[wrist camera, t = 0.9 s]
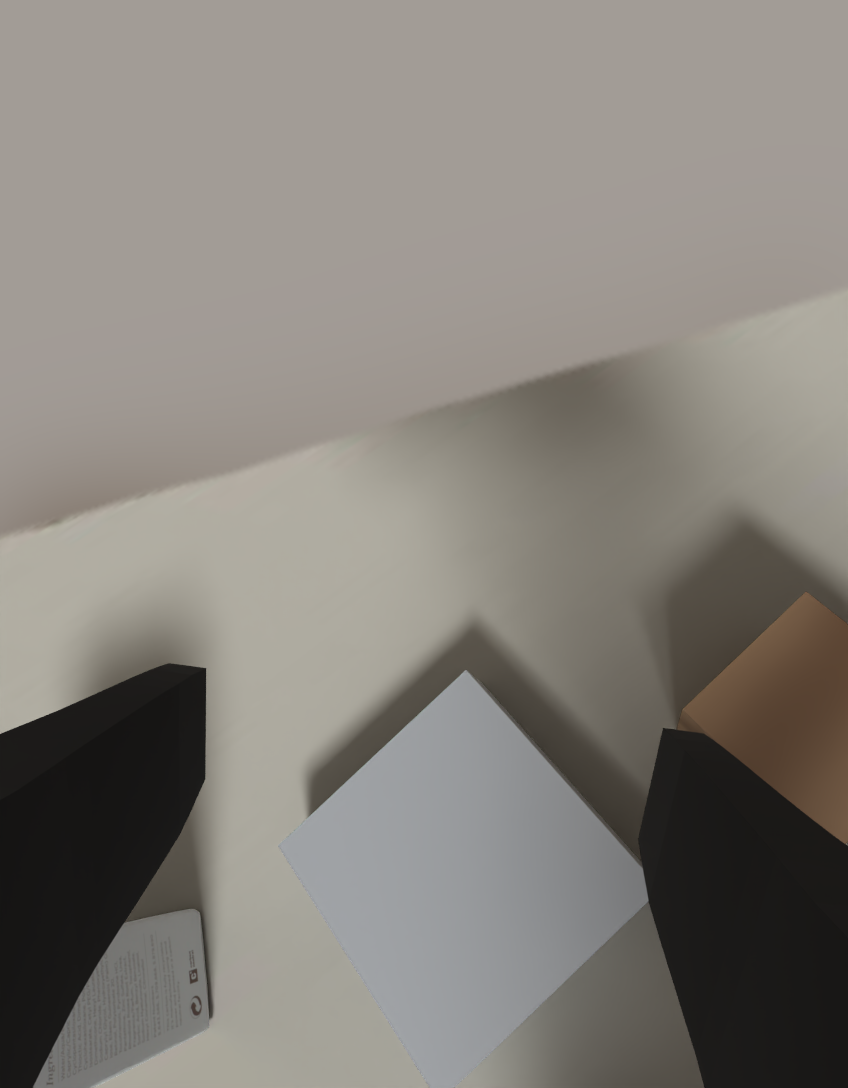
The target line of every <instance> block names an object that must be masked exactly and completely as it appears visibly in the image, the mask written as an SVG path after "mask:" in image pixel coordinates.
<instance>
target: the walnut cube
mask: <svg viewBox="0 0 848 1088" xmlns="http://www.w3.org/2000/svg"><path fill="white" fill-rule="evenodd" d="M677 730H682V731H690V732H697V733H704V734H705V735H707V736H708V737H710V738H711V739H713V740H714V741H716V742H717V743H718V744H720V745H721V746H722V747H724V748H725V749H726V750H727V751H729V752H730V753H731V754H732V755H734V756H735V757H736V758H737V759H739V760H740V761H741V762H742V763H743V764H745V765H746V766H747V767H748V768H750V769H751V770H752V771H753V772H754V773H756V774H757V775H758V776H759V777H760V778H762V779H763V780H764V781H765V782H767V783H768V784H769V785H770V786H771V787H773V788H774V789H775V790H776V791H778V792H779V793H780V794H781V795H782V796H784V797H785V798H786V799H787V800H789V801H790V802H791V803H792V804H794V805H795V806H796V807H797V808H799V809H800V810H801V811H802V812H804V813H805V814H806V815H808V816H809V817H810V818H811V819H813V820H814V821H815V822H817V823H818V824H819V825H820V826H822V827H823V828H824V829H826V830H827V831H828V832H830V833H831V834H832V835H833V836H835V837H836V838H838V839H839V840H840V841H842V842H843V843H844V844H846V843H847V842H848V624H847V623H846V622H844V621H843V620H842V619H841V618H839V617H838V616H837V615H835V614H834V613H833V612H832V611H830V610H829V609H828V608H827V607H825V606H824V605H823V604H821V603H820V602H819V601H818V600H816V599H815V598H814V597H812V596H811V595H810V594H809V593H807V592H805V593H804V594H803V595H802V596H801V597H800V598H799V599H798V600H797V601H796V602H794V603H793V604H792V605H791V606H790V607H789V608H788V609H787V610H786V611H785V612H784V613H783V614H782V615H781V616H780V617H779V618H778V619H777V620H776V621H775V622H773V623H772V624H771V625H770V626H769V627H768V628H767V629H766V630H765V631H764V632H763V633H762V634H761V635H760V636H759V637H758V638H757V639H756V640H755V641H754V642H752V643H751V644H750V645H749V646H748V647H747V648H746V649H745V650H744V651H743V652H742V653H741V654H740V655H739V656H738V657H737V658H736V659H735V660H734V661H733V662H731V663H730V664H729V665H728V666H727V667H726V668H725V669H724V670H723V671H722V672H721V673H720V674H719V675H718V676H717V677H716V678H715V679H714V680H713V681H712V682H711V683H709V684H708V685H707V686H706V687H705V688H704V689H703V690H702V691H701V692H700V693H699V694H698V695H697V696H696V697H695V698H694V699H693V700H692V701H691V702H690V703H688V704H687V705H686V706H685V707H684V708H683V709H682V712H681V716H680V719H679V723H678V726H677Z"/></svg>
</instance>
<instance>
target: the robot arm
mask: <svg viewBox="0 0 848 1088" xmlns="http://www.w3.org/2000/svg"><path fill="white" fill-rule="evenodd" d="M205 742H206V668H200V667H192V666H185V665H177V664H166V665H163V666H160V667H157V668H154V669H152V670H149V671H147V672H144V673H142V674H139V675H137V676H135V677H133V678H130V679H128V680H126V681H124V682H121V683H119V684H117V685H115V686H112V687H110V688H108V689H106V690H103V691H101V692H99V693H97V694H95V695H92V696H90V697H88V698H86V699H83V700H81V701H79V702H77V703H74V704H72V705H70V706H68V707H65V708H63V709H61V710H58V711H56V712H54V713H51V714H49V715H46V716H44V717H41V718H39V719H36V720H34V721H31V722H29V723H26V724H24V725H21V726H19V727H16V728H14V729H12V730H9V731H7V732H4V733H2V734H0V1088H33V1086H34V1084H35V1082H36V1080H37V1078H38V1076H39V1074H40V1072H41V1070H42V1068H43V1066H44V1064H45V1062H46V1060H47V1058H48V1056H49V1054H50V1052H51V1050H52V1048H53V1046H54V1044H55V1042H56V1040H57V1039H58V1037H59V1035H60V1033H61V1031H62V1029H63V1027H64V1025H65V1023H66V1021H67V1019H68V1017H69V1015H70V1013H71V1011H72V1009H73V1007H74V1005H75V1003H76V1001H77V999H78V997H79V996H80V994H81V992H82V990H83V989H84V987H85V985H86V983H87V982H88V980H89V978H90V977H91V975H92V973H93V971H94V970H95V968H96V966H97V965H98V963H99V961H100V960H101V958H102V957H103V955H104V954H105V952H106V950H107V949H108V947H109V946H110V944H111V943H112V941H113V939H114V938H115V936H116V935H117V933H118V932H119V930H120V928H121V927H122V925H123V924H124V922H125V921H126V919H127V917H128V916H129V914H130V913H131V911H132V910H133V908H134V906H135V905H136V903H137V902H138V900H139V899H140V897H141V895H142V894H143V892H144V891H145V889H146V888H147V886H148V884H149V883H150V881H151V880H152V878H153V877H154V875H155V873H156V872H157V870H158V869H159V867H160V865H161V864H162V862H163V861H164V859H165V857H166V856H167V854H168V853H169V851H170V849H171V848H172V846H173V845H174V843H175V841H176V840H177V838H178V836H179V835H180V833H181V831H182V829H183V826H184V824H185V822H186V820H187V818H188V816H189V814H190V812H191V810H192V807H193V805H194V803H195V801H196V798H197V796H198V794H199V792H200V789H201V787H202V785H203V783H204V780H205ZM638 840H639V847H640V853H641V860H642V866H643V873H644V878H645V884H646V889H647V895H648V900H649V904H650V907H651V911H652V914H653V918H654V921H655V924H656V928H657V931H658V934H659V938H660V941H661V944H662V948H663V951H664V954H665V957H666V961H667V964H668V967H669V970H670V973H671V977H672V980H673V983H674V986H675V990H676V993H677V996H678V999H679V1002H680V1006H681V1009H682V1012H683V1015H684V1018H685V1022H686V1025H687V1028H688V1031H689V1035H690V1038H691V1041H692V1044H693V1047H694V1051H695V1054H696V1057H697V1061H698V1065H699V1068H700V1072H701V1076H702V1080H703V1083H704V1087H705V1088H848V846H847V845H846V844H844V843H843V842H842V841H840V840H839V839H838V838H836V837H835V836H833V835H832V834H831V833H830V832H828V831H827V830H826V829H824V828H823V827H822V826H820V825H819V824H818V823H817V822H815V821H814V820H813V819H811V818H810V817H809V816H808V815H806V814H805V813H804V812H802V811H801V810H800V809H799V808H797V807H796V806H795V805H794V804H792V803H791V802H790V801H789V800H787V799H786V798H785V797H784V796H782V795H781V794H780V793H779V792H778V791H776V790H775V789H774V788H773V787H771V786H770V785H769V784H768V783H767V782H765V781H764V780H763V779H762V778H760V777H759V776H758V775H757V774H756V773H754V772H753V771H752V770H751V769H750V768H748V767H747V766H746V765H745V764H743V763H742V762H741V761H740V760H739V759H737V758H736V757H735V756H734V755H732V754H731V753H730V752H729V751H727V750H726V749H725V748H724V747H722V746H721V745H720V744H718V743H717V742H716V741H714V740H713V739H711V738H710V737H708V736H707V735H705V734H704V733H697V732H690V731H682V730H674V729H667V728H663V731H662V736H661V740H660V745H659V749H658V754H657V758H656V763H655V767H654V771H653V776H652V780H651V785H650V789H649V794H648V798H647V803H646V807H645V811H644V816H643V820H642V825H641V829H640V834H639V838H638Z"/></svg>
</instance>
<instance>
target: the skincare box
mask: <svg viewBox="0 0 848 1088" xmlns="http://www.w3.org/2000/svg"><path fill="white" fill-rule="evenodd" d="M208 1028H209V1009H208V991H207V978H206V968H205V955H204V944H203V934H202V926H201V916H200V913H199V911H197V910H195V909H186V910H181V911H176V912H171V913H166V914H161V915H156V916H151V917H147V918H142V919H138V920H134V921H130V922H125V923H124V924H123V925H122V927H121V928H120V930H119V932H118V933H117V935H116V936H115V938H114V939H113V941H112V943H111V944H110V946H109V947H108V949H107V950H106V952H105V954H104V955H103V957H102V958H101V960H100V961H99V963H98V965H97V966H96V968H95V970H94V971H93V973H92V975H91V977H90V978H89V980H88V982H87V983H86V985H85V987H84V989H83V990H82V992H81V994H80V996H79V997H78V999H77V1001H76V1003H75V1005H74V1007H73V1009H72V1011H71V1013H70V1015H69V1017H68V1019H67V1021H66V1023H65V1025H64V1027H63V1029H62V1031H61V1033H60V1035H59V1037H58V1039H57V1040H56V1042H55V1044H54V1046H53V1048H52V1050H51V1052H50V1054H49V1056H48V1058H47V1060H46V1062H45V1064H44V1066H43V1068H42V1070H41V1072H40V1074H39V1076H38V1078H37V1080H36V1082H35V1084H34V1086H33V1088H94V1087H96V1086H98V1085H100V1084H102V1083H104V1082H106V1081H108V1080H110V1079H112V1078H114V1077H116V1076H118V1075H120V1074H122V1073H124V1072H126V1071H128V1070H130V1069H132V1068H134V1067H136V1066H138V1065H140V1064H142V1063H144V1062H146V1061H148V1060H150V1059H152V1058H154V1057H156V1056H158V1055H160V1054H162V1053H164V1052H166V1051H168V1050H170V1049H172V1048H174V1047H176V1046H178V1045H180V1044H182V1043H184V1042H186V1041H188V1040H190V1039H192V1038H194V1037H196V1036H198V1035H200V1034H201V1033H203V1032H205V1031H206V1030H207V1029H208Z"/></svg>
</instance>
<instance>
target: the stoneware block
mask: <svg viewBox="0 0 848 1088" xmlns="http://www.w3.org/2000/svg"><path fill="white" fill-rule="evenodd" d="M278 847H279V848H280V850H281V851H282V853H283V855H284V856H285V858H286V859H287V861H288V862H289V864H290V866H291V867H292V869H293V870H294V872H295V874H296V875H297V877H298V878H299V880H300V882H301V883H302V885H303V886H304V888H305V890H306V891H307V893H308V894H309V896H310V898H311V899H312V901H313V902H314V904H315V906H316V907H317V909H318V910H319V912H320V914H321V915H322V917H323V918H324V920H325V922H326V923H327V925H328V926H329V928H330V929H331V931H332V933H333V934H334V936H335V937H336V939H337V941H338V942H339V944H340V945H341V947H342V949H343V950H344V952H345V953H346V955H347V957H348V958H349V960H350V961H351V963H352V965H353V966H354V968H355V969H356V971H357V973H358V974H359V976H360V977H361V979H362V981H363V982H364V984H365V985H366V987H367V989H368V990H369V992H370V993H371V995H372V996H373V998H374V1000H375V1001H376V1003H377V1004H378V1006H379V1008H380V1009H381V1011H382V1012H383V1014H384V1016H385V1017H386V1019H387V1020H388V1022H389V1024H390V1025H391V1027H392V1028H393V1030H394V1032H395V1033H396V1035H397V1036H398V1038H399V1040H400V1041H401V1043H402V1044H403V1046H404V1048H405V1049H406V1051H407V1052H408V1054H409V1055H410V1057H411V1059H412V1060H413V1062H414V1063H415V1065H416V1067H417V1068H418V1070H419V1071H420V1073H421V1075H422V1076H423V1078H424V1079H425V1081H426V1083H427V1084H428V1086H429V1087H430V1088H455V1087H456V1086H457V1085H458V1084H459V1083H460V1082H461V1081H462V1080H463V1079H464V1078H465V1077H466V1076H467V1075H468V1074H469V1073H470V1072H471V1071H472V1070H473V1069H474V1068H476V1067H477V1066H478V1065H479V1064H480V1063H481V1062H482V1061H483V1060H484V1059H485V1058H486V1057H487V1056H488V1055H489V1054H490V1053H491V1052H492V1051H493V1050H494V1049H495V1048H496V1047H497V1046H498V1045H499V1044H500V1043H502V1042H503V1041H504V1040H505V1039H506V1038H507V1037H508V1036H509V1035H510V1034H511V1033H512V1032H513V1031H514V1030H515V1029H516V1028H517V1027H518V1026H519V1025H520V1024H521V1023H522V1022H523V1021H524V1020H525V1019H527V1018H528V1017H529V1016H530V1015H531V1014H532V1013H533V1012H534V1011H535V1010H536V1009H537V1008H538V1007H539V1006H540V1005H541V1004H542V1003H543V1002H544V1001H545V1000H546V999H547V998H548V997H549V996H550V995H551V994H553V993H554V992H555V991H556V990H557V989H558V988H559V987H560V986H561V985H562V984H563V983H564V982H565V981H566V980H567V979H568V978H569V977H570V976H571V975H572V974H573V973H574V972H575V971H576V970H578V969H579V968H580V967H581V966H582V965H583V964H584V963H585V962H586V961H587V960H588V959H589V958H590V957H591V956H592V955H593V954H594V953H595V952H596V951H597V950H598V949H599V948H600V947H601V946H602V945H604V944H605V943H606V942H607V941H608V940H609V939H610V938H611V937H612V936H613V935H614V934H615V933H616V932H617V931H618V930H619V929H620V928H621V927H622V926H623V925H624V924H625V923H626V922H627V921H629V920H630V919H631V918H632V917H633V916H634V915H635V914H636V913H637V912H638V911H639V910H640V909H641V908H642V907H643V906H644V905H645V904H646V903H647V902H648V901H649V900H648V895H647V889H646V884H645V878H644V873H643V866H642V862H641V861H640V860H639V859H638V858H637V856H636V855H635V854H634V853H633V852H632V851H631V850H630V849H629V847H628V846H627V845H626V844H625V843H624V842H623V841H622V840H621V838H620V837H619V836H618V835H617V834H616V833H615V832H614V831H613V830H612V828H611V827H610V826H609V825H608V824H607V823H606V822H605V821H604V819H603V818H602V817H601V816H600V815H599V814H598V813H597V812H596V810H595V809H594V808H593V807H592V806H591V805H590V804H589V803H588V801H587V800H586V799H585V798H584V797H583V796H582V795H581V794H580V792H579V791H578V790H577V789H576V788H575V787H574V786H573V785H572V784H571V782H570V781H569V780H568V779H567V778H566V777H565V776H564V775H563V773H562V772H561V771H560V770H559V769H558V768H557V767H556V766H555V764H554V763H553V762H552V761H551V760H550V759H549V758H548V757H547V755H546V754H545V753H544V752H543V751H542V750H541V749H540V748H539V746H538V745H537V744H536V743H535V742H534V741H533V740H532V739H531V737H530V736H529V735H528V734H527V733H526V732H525V731H524V730H523V729H522V727H521V726H520V725H519V724H518V723H517V722H516V721H515V720H514V718H513V717H512V716H511V715H510V714H509V713H508V712H507V711H506V709H505V708H504V707H503V706H502V705H501V704H500V703H499V702H498V700H497V699H496V698H495V697H494V696H493V695H492V694H491V693H490V691H489V690H488V689H487V688H486V687H485V686H484V685H483V684H482V683H481V682H480V681H479V680H478V679H477V678H475V677H474V676H473V675H472V674H471V673H469V672H468V671H467V670H465V671H464V672H463V673H462V674H461V675H460V676H459V677H458V678H457V679H456V680H454V681H453V682H452V683H451V684H450V685H449V686H448V687H447V688H446V689H445V690H444V691H443V692H442V693H441V694H439V695H438V696H437V697H436V698H435V699H434V700H433V701H432V702H431V703H430V704H429V705H428V706H427V707H426V708H425V709H423V710H422V711H421V712H420V713H419V714H418V715H417V716H416V717H415V718H414V719H413V720H412V721H411V722H410V723H408V724H407V725H406V726H405V727H404V728H403V729H402V730H401V731H400V732H399V733H398V734H397V735H396V736H395V737H394V738H392V739H391V740H390V741H389V742H388V743H387V744H386V745H385V746H384V747H383V748H382V749H381V750H380V751H379V752H377V753H376V754H375V755H374V756H373V757H372V758H371V759H370V760H369V761H368V762H367V763H366V764H365V765H364V766H363V767H361V768H360V769H359V770H358V771H357V772H356V773H355V774H354V775H353V776H352V777H351V778H350V779H349V780H348V781H346V782H345V783H344V784H343V785H342V786H341V787H340V788H339V789H338V790H337V791H336V792H335V793H334V794H333V795H332V796H330V797H329V798H328V799H327V800H326V801H325V802H324V803H323V804H322V805H321V806H320V807H319V808H318V809H317V810H316V811H314V812H313V813H312V814H311V815H310V816H309V817H308V818H307V819H306V820H305V821H304V822H303V823H302V824H301V825H299V826H298V827H297V828H296V829H295V830H294V831H293V832H292V833H291V834H290V835H289V836H288V837H287V838H286V839H285V840H283V841H282V842H281V843H280V844H279V845H278Z"/></svg>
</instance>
